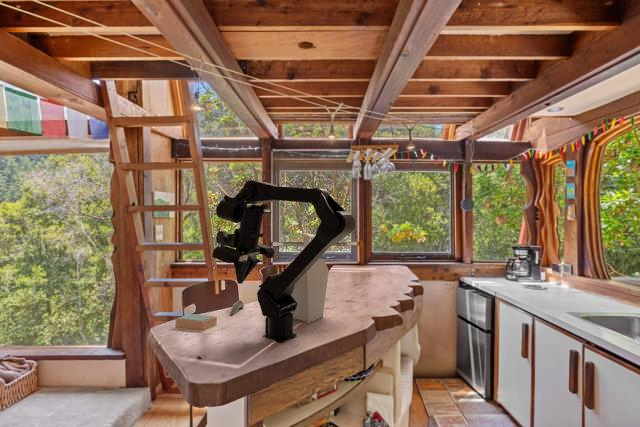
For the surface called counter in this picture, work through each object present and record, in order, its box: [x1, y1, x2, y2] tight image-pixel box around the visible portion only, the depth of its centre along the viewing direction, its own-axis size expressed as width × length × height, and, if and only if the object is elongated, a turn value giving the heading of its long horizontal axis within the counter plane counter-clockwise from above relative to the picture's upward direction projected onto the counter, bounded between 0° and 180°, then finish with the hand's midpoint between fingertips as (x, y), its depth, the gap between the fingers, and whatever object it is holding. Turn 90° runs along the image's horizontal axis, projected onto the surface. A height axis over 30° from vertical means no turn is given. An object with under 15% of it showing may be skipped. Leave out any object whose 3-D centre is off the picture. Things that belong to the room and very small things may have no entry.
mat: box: [172, 322, 230, 334], centre depth 102 cm, size 12×9×1 cm
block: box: [175, 313, 218, 331], centre depth 103 cm, size 2×6×9 cm
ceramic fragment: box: [224, 300, 245, 317], centre depth 120 cm, size 14×5×4 cm, turn 176°
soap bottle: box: [285, 232, 329, 324], centre depth 114 cm, size 12×10×26 cm
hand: (239, 283), depth 101 cm, fingers closed
